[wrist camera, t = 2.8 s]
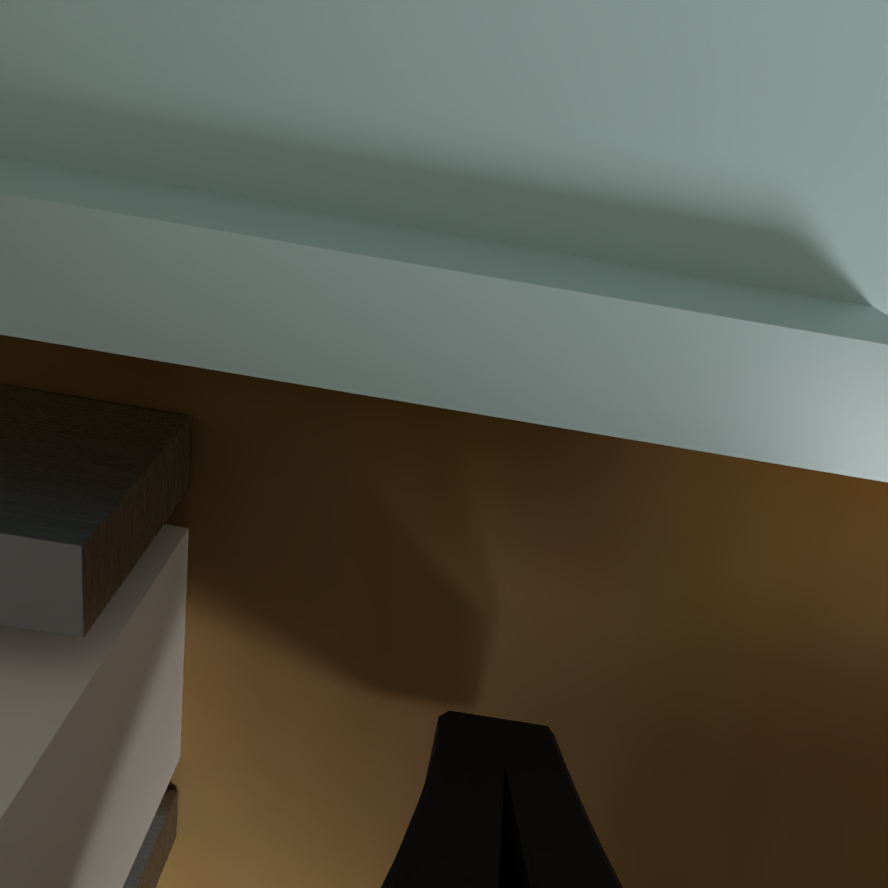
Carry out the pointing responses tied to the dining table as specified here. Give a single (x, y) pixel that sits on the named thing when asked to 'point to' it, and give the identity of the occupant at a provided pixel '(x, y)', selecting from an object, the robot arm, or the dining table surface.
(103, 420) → the channel
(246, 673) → the dining table surface
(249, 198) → the cradle
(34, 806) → the white block
